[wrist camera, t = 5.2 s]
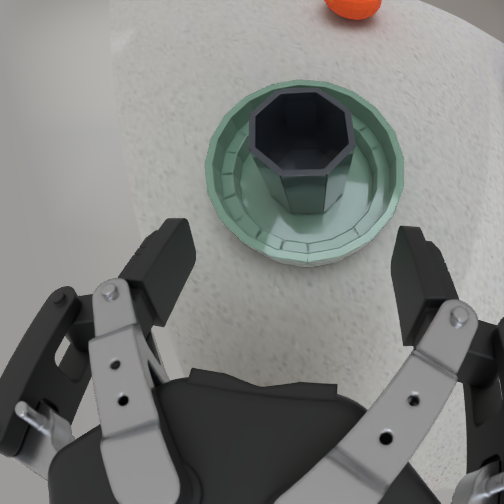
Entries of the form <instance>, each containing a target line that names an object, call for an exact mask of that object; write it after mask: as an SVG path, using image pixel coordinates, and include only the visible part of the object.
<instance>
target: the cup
mask: <svg viewBox="0 0 504 504" xmlns="http://www.w3.org/2000/svg"><path fill="white" fill-rule="evenodd" d="M355 146H356V143H355V136H354V129H353V122H352V116H351V111H350V109H349V108H347V107H346V106H345V105H343V104H342V103H340V102H339V101H337V100H336V99H335V98H333V97H332V96H330V95H329V94H327V93H326V92H324V91H323V90H321V89H320V88H318V89H317V88H293V89H279V90H277V91H275V92H274V93H273V94H272V95H271V96H269V97H268V98H267V99H266V100H265V101H264V102H263V103H261V104H260V105H259V106H258V107H257V108H256V109H255V110H253V111H252V112H251V113H250V115H249V151H250V153H251V155H252V157H253V159H254V161H255V163H256V165H257V168H258V170H259V172H260V174H261V176H262V178H263V180H264V182H265V184H266V186H267V188H268V190H269V193H270V194H271V195H272V196H273V197H274V198H275V199H276V200H277V201H278V202H279V203H280V204H281V205H282V206H283V207H284V208H286V209H287V210H288V211H289V212H290V213H293V214H296V213H297V214H303V215H310V214H316V213H323V212H325V211H326V210H327V209H328V208H329V207H330V206H331V205H333V204H334V202H335V201H336V200H337V198H338V197H339V196H340V195H341V194H342V193H343V191H344V188H345V185H346V181H347V177H348V173H349V170H350V166H351V162H352V158H353V154H354V150H355Z"/></svg>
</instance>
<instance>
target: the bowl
mask: <svg viewBox="0 0 504 504" xmlns="http://www.w3.org/2000/svg"><path fill="white" fill-rule="evenodd" d="M293 88H317V89H318V88H320V89H321V90H323V91H324V92H326V93H327V94H329V95H330V96H332V97H333V98H335V99H336V100H337V101H339V102H340V103H342V104H343V105H345V106H346V107H347V108H349V109H350V111H351V116H352V122H353V129H354V136H355V143H356V146H355V150H354V154H353V158H352V162H351V166H350V170H349V173H348V177H347V181H346V185H345V188H344V191H343V193H342V194H341V195H340V196H339V197H338V198H337V200H336V201H335V202H334V204H333V205H331V206H330V207H329V208H328V209H327V210H326V211H325V212H323V213H316V214H310V215H303V214H297V213H296V214H293V213H290V212H289V211H288V210H287V209H286V208H284V207H283V206H282V205H281V204H280V203H279V202H278V201H277V200H276V199H275V198H274V197H273V196H272V195H271V194H270V193H269V190H268V188H267V186H266V184H265V182H264V180H263V178H262V176H261V174H260V172H259V170H258V168H257V165H256V163H255V161H254V159H253V157H252V155H251V153H250V151H249V115H250V113H251V112H252V111H253V110H255V109H256V108H257V107H258V106H259V105H260V104H261V103H263V102H264V101H265V100H266V99H267V98H268V97H269V96H271V95H272V94H273V93H274V92H275V91H277V90H279V89H293ZM205 174H206V184H207V192H208V195H209V197H210V199H211V202H212V204H213V206H214V208H215V210H216V212H217V214H218V216H219V218H220V220H221V221H222V222H223V223H224V224H225V225H226V226H227V227H228V228H229V229H230V230H231V231H232V232H233V233H234V234H235V235H236V236H237V237H238V238H239V239H240V240H241V241H242V242H243V243H244V244H246V245H247V246H249V247H250V248H252V249H253V250H255V251H257V252H259V253H261V254H262V255H264V256H266V257H268V258H270V259H272V260H274V261H276V262H278V263H281V264H288V265H295V266H302V267H315V266H320V265H326V264H332V263H336V262H339V261H341V260H343V259H345V258H346V257H348V256H350V255H352V254H354V253H355V252H357V251H359V250H361V249H362V248H363V247H364V246H366V245H367V244H368V243H369V242H370V241H371V240H373V238H374V237H375V236H376V235H377V234H378V233H379V232H380V230H381V229H382V228H383V227H384V226H385V225H386V224H387V222H388V221H389V220H390V219H391V218H392V216H393V215H394V212H395V210H396V207H397V204H398V202H399V199H400V196H401V194H402V191H403V187H404V157H403V154H402V151H401V148H400V146H399V143H398V140H397V137H396V134H395V132H394V130H393V129H392V127H391V126H390V125H389V123H388V122H387V121H386V119H385V118H384V117H383V116H382V114H381V113H380V112H379V111H378V109H376V107H374V106H373V105H372V104H370V103H369V102H368V101H366V100H365V99H363V98H362V97H361V96H359V95H358V94H356V93H355V92H353V91H351V90H348V89H345V88H343V87H340V86H337V85H334V84H331V83H328V82H322V81H311V80H293V81H288V82H282V83H277V84H272V85H269V86H267V87H265V88H263V89H261V90H258V91H256V92H254V93H252V94H250V95H248V96H246V97H245V98H244V99H242V100H241V101H240V102H239V103H238V104H237V105H236V106H235V107H233V108H232V109H231V110H230V111H229V112H228V113H227V114H226V115H225V116H224V118H223V119H222V121H221V122H220V124H219V126H218V127H217V129H216V131H215V132H214V134H213V136H212V137H211V140H210V144H209V148H208V152H207V157H206V161H205Z"/></svg>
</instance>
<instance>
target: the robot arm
mask: <svg viewBox="0 0 504 504" xmlns="http://www.w3.org/2000/svg"><path fill="white" fill-rule="evenodd" d="M195 260H196V250H195V246H194V242H193V238H192V234H191V230H190V226H189V222H188V220H187V219H185V218H168V219H166V220H165V222H164V223H163V224H162V226H161V227H160V228H159V230H156V231H154V232H153V233H152V234H150V235H149V236H148V237H146V238H145V240H144V241H143V243H142V244H141V245H140V248H138V250H137V251H136V252H135V255H133V256H132V258H131V259H130V261H129V262H128V263H127V265H126V266H125V268H124V269H123V271H122V272H121V273H120V275H119V276H118V278H113V279H109V280H107V281H105V282H103V283H102V284H100V285H99V286H98V287H97V288H96V290H95V291H94V293H93V294H90V295H84V296H78V295H77V294H76V292H75V290H74V289H73V288H72V287H69V286H66V287H61V288H59V289H57V290H55V291H54V292H53V293H52V294H51V295H50V296H49V297H48V299H47V300H46V302H45V303H44V305H43V306H42V308H41V310H40V311H39V312H38V314H37V315H36V317H35V319H34V320H33V322H32V323H31V325H30V327H29V328H28V330H27V331H26V333H25V335H24V336H23V338H22V340H21V342H20V343H19V345H18V347H17V348H16V350H15V352H14V354H13V355H12V357H11V359H10V361H9V363H8V365H7V366H6V369H5V370H4V372H3V374H2V376H1V378H0V453H1V454H3V455H4V456H6V457H8V458H10V459H12V460H14V461H16V462H17V463H19V464H21V465H24V466H26V467H27V468H29V469H30V470H32V471H33V472H35V473H36V474H38V475H39V476H41V477H42V478H44V479H45V480H47V481H48V489H49V501H50V504H441V503H440V501H439V500H438V499H437V498H436V496H435V495H434V494H433V493H432V491H431V490H430V489H429V487H428V486H427V485H426V484H425V482H424V481H423V480H422V478H421V477H420V476H419V475H418V473H417V472H416V471H415V469H414V468H413V467H412V466H411V464H410V463H409V462H408V461H409V460H410V458H411V457H412V456H413V454H414V453H415V451H416V450H417V448H418V447H419V446H420V444H421V443H422V441H423V440H424V438H425V437H426V435H427V434H428V432H429V430H430V429H431V427H432V426H433V424H434V422H435V421H436V419H437V417H438V416H439V414H440V412H441V411H442V409H443V407H444V405H445V404H446V402H447V400H448V398H449V396H450V394H451V392H452V391H453V389H454V387H455V385H456V383H457V382H461V383H463V390H464V400H465V412H466V430H467V472H466V475H465V476H464V477H463V478H462V479H461V480H460V482H459V483H458V485H457V487H456V489H455V492H454V494H453V497H452V503H451V504H504V317H503V318H502V319H501V320H500V322H499V323H498V325H494V324H490V323H487V322H484V321H480V320H478V317H477V315H476V313H475V311H474V310H473V309H472V307H471V306H469V305H468V304H467V303H465V302H463V301H460V300H459V298H458V295H457V292H456V289H455V287H454V284H453V281H452V279H451V276H450V273H449V271H448V268H447V266H446V263H444V259H443V256H442V254H441V251H440V250H439V249H438V248H437V247H436V246H435V245H434V244H433V243H432V241H426V240H425V238H424V236H423V233H422V231H421V229H420V227H412V226H400V227H399V230H398V234H397V238H396V243H395V247H394V251H393V255H392V260H391V277H392V282H393V287H394V292H395V297H396V303H397V308H398V314H399V320H400V327H401V334H402V341H403V346H413V348H414V349H413V351H412V352H411V354H410V355H409V357H408V358H407V359H406V361H405V362H404V364H403V365H402V367H401V368H400V369H399V371H398V372H397V374H396V375H395V376H394V378H393V379H392V380H391V382H390V383H389V384H388V386H387V387H386V388H385V390H384V391H383V392H382V394H381V395H380V396H379V397H378V399H377V400H376V401H375V402H374V404H373V405H372V406H371V407H370V408H369V410H367V409H366V408H364V407H363V406H362V405H360V404H359V403H357V402H355V401H354V400H352V399H350V398H347V397H345V396H342V395H339V394H337V384H323V383H306V382H298V383H291V384H283V385H275V386H267V387H259V386H256V385H253V384H251V383H248V382H245V381H243V380H240V379H238V378H235V377H233V376H230V375H228V374H225V373H219V372H213V371H207V370H201V369H196V368H192V369H191V372H190V375H189V377H186V378H180V379H175V380H171V381H170V380H169V378H168V376H167V373H166V371H165V368H164V365H163V362H162V359H161V356H160V353H159V350H158V347H157V343H156V340H155V337H154V334H153V332H152V330H151V328H152V326H153V325H155V326H160V327H164V326H165V324H166V322H167V320H168V318H169V316H170V314H171V312H172V310H173V307H174V305H175V303H176V301H177V299H178V297H179V295H180V293H181V291H182V289H183V287H184V285H185V283H186V281H187V279H188V277H189V275H190V273H191V271H192V269H193V267H194V264H195ZM64 336H66V338H67V339H68V340H69V341H70V345H69V347H68V349H67V351H66V353H65V355H64V357H63V359H62V361H61V362H60V364H59V366H58V367H57V365H56V363H55V353H56V351H57V349H58V347H59V345H60V344H61V342H62V340H63V338H64ZM91 376H92V379H93V386H94V392H95V397H96V404H97V409H98V414H99V419H100V424H99V425H98V426H97V427H95V428H93V429H92V430H90V431H88V432H87V433H85V434H84V435H82V436H80V437H79V438H77V439H76V440H75V438H74V436H73V435H72V430H71V424H72V422H73V419H74V416H75V414H76V412H77V409H78V407H79V404H80V402H81V399H82V397H83V395H84V393H85V390H86V388H87V385H88V383H89V381H90V379H91ZM499 379H500V382H499ZM500 385H501V388H500ZM501 391H502V395H501Z"/></svg>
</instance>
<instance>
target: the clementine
mask: <svg viewBox="0 0 504 504" xmlns="http://www.w3.org/2000/svg"><path fill="white" fill-rule="evenodd" d="M324 1H325V2H326V4H327V5H328V7H329V8H330V9H331V10H332V11H334V12H335V13H336V14H337V15H339V16H341V17H344V18H347V19H353V20H362V19H366V18H368V17H370V16H372V15H374V14H375V13H376V12H377V10H378V9H379V8H380V5H381V0H324Z"/></svg>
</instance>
